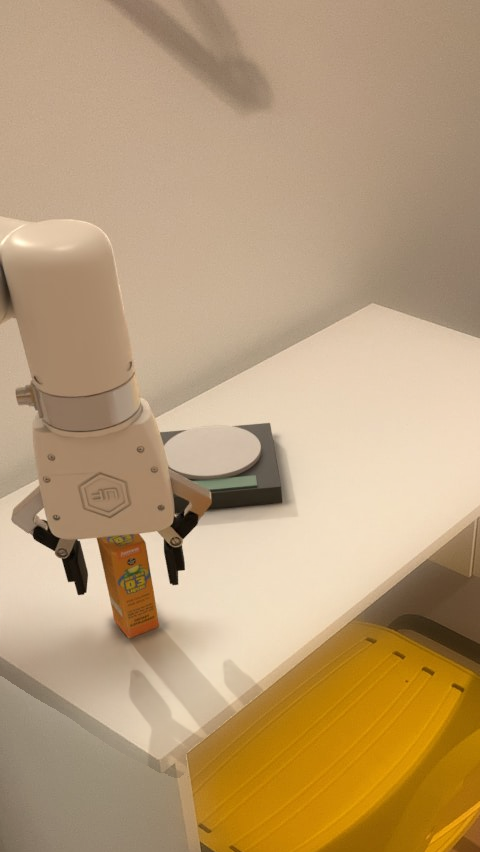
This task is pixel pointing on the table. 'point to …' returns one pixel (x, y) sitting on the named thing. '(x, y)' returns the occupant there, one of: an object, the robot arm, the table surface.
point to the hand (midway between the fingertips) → (128, 579)
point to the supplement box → (129, 583)
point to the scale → (226, 463)
